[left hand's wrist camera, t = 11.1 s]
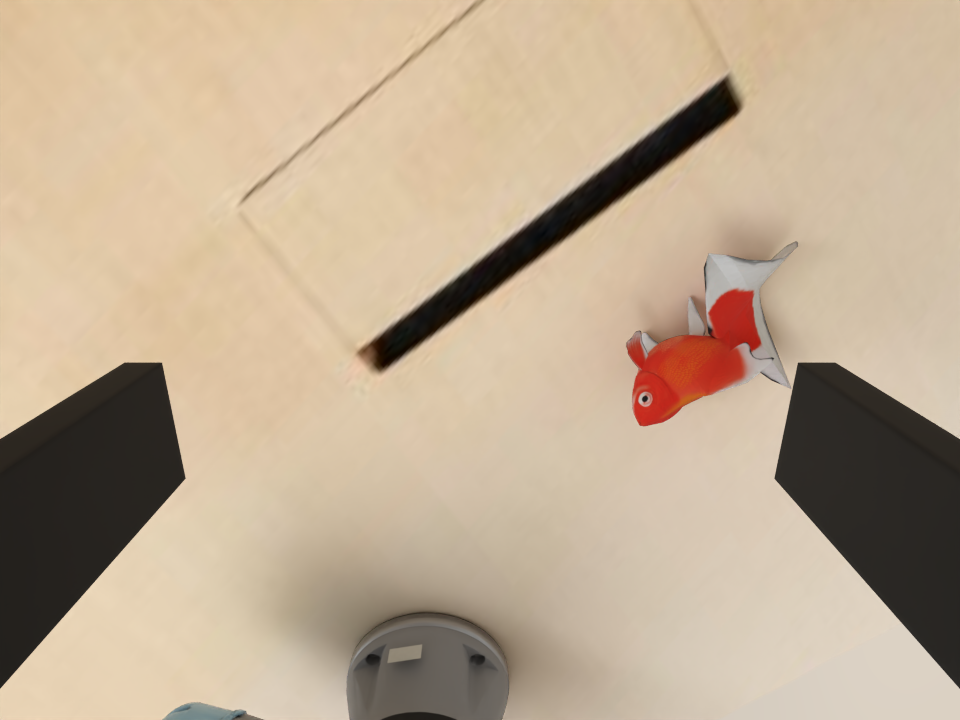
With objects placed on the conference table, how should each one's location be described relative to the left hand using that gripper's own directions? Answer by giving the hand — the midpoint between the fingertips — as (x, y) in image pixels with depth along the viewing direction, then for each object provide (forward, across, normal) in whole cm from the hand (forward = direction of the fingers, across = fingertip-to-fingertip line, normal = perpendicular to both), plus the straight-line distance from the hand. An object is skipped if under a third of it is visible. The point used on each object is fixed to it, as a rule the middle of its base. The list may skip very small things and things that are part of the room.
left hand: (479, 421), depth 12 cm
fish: (+31, -16, +6) cm, 36 cm away
